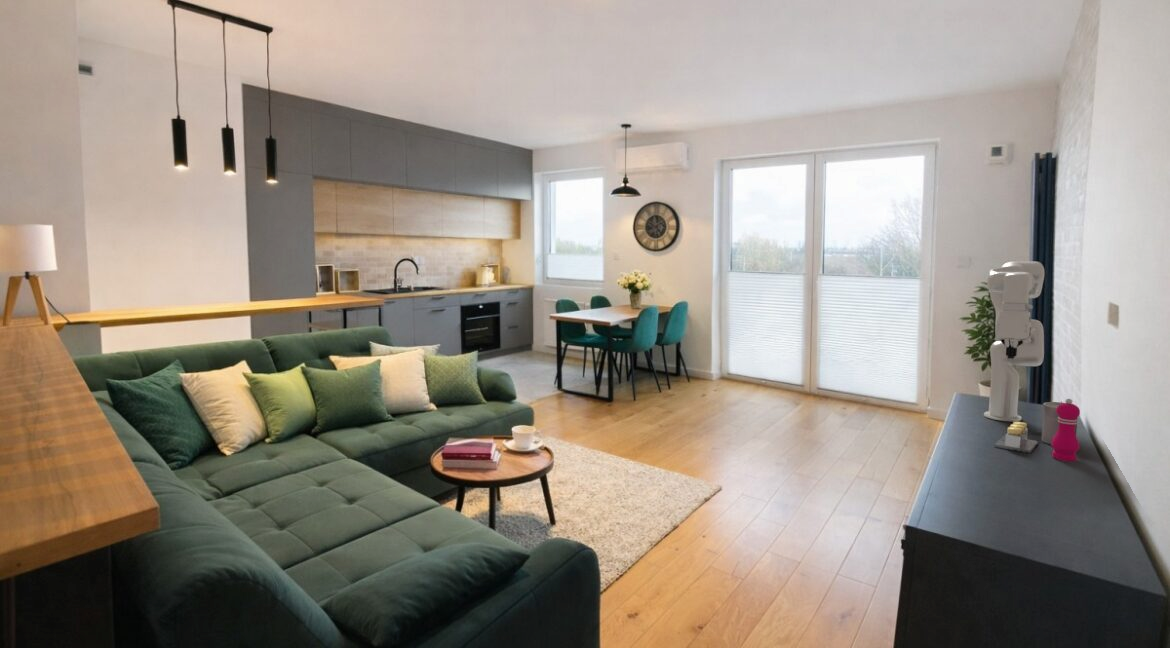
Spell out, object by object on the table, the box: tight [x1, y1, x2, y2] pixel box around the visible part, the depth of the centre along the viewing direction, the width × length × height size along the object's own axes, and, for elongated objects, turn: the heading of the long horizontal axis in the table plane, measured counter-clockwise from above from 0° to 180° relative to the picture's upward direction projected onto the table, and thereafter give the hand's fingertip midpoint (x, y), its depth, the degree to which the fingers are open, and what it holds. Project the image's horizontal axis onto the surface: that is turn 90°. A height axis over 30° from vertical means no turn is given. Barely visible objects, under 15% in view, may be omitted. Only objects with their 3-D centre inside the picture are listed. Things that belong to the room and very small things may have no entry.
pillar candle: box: [1041, 401, 1078, 445], centre depth 215 cm, size 10×10×15 cm
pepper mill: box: [1050, 398, 1081, 462], centre depth 199 cm, size 7×7×20 cm
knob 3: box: [1012, 421, 1028, 429], centre depth 216 cm, size 4×4×6 cm
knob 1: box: [1009, 423, 1024, 431], centre depth 213 cm, size 4×4×6 cm
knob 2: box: [1006, 426, 1022, 436], centre depth 210 cm, size 4×4×6 cm
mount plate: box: [994, 427, 1038, 454], centre depth 213 cm, size 14×10×5 cm
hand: (1010, 357), depth 221 cm, fingers closed
